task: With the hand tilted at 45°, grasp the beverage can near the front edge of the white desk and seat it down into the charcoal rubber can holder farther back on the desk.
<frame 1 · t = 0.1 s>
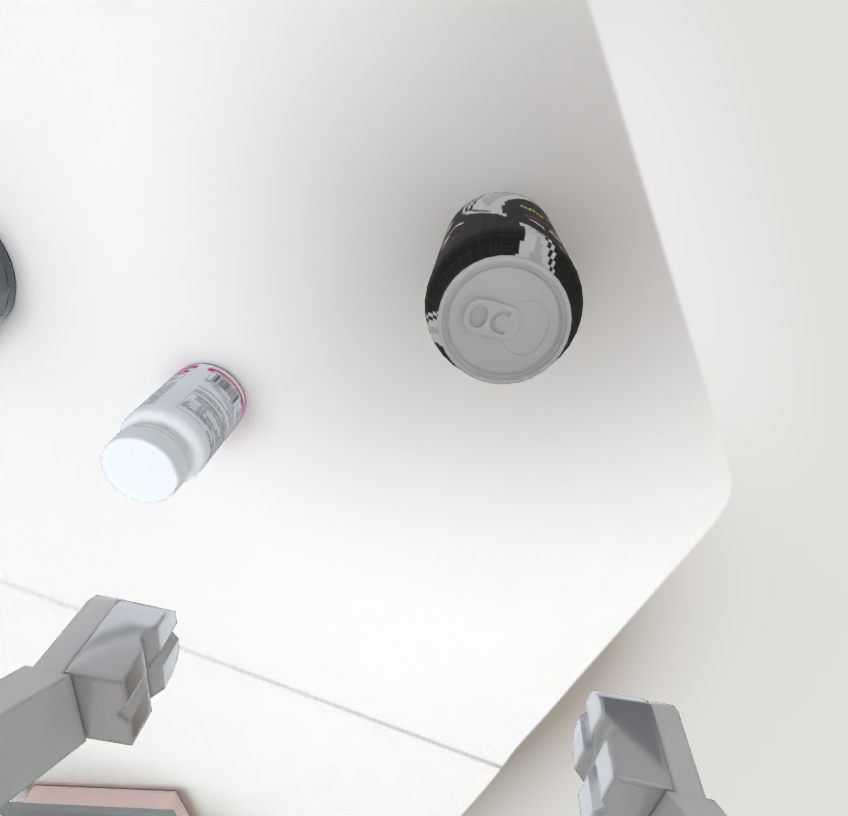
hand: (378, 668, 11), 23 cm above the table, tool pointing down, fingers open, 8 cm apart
pill bottle: (212, 395, 36), on the table
beverage can: (498, 247, 30), on the table
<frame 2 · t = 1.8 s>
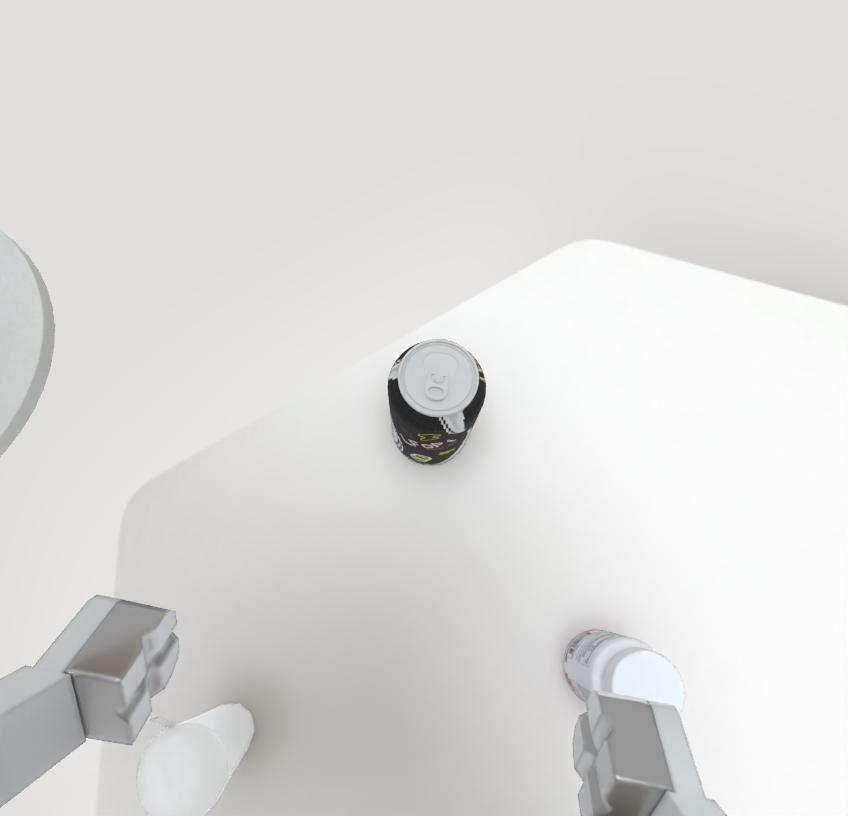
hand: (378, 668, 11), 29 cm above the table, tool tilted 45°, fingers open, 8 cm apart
pill bottle: (596, 665, 38), on the table
beverage can: (429, 430, 43), on the table
milkshake: (229, 722, 37), on the table
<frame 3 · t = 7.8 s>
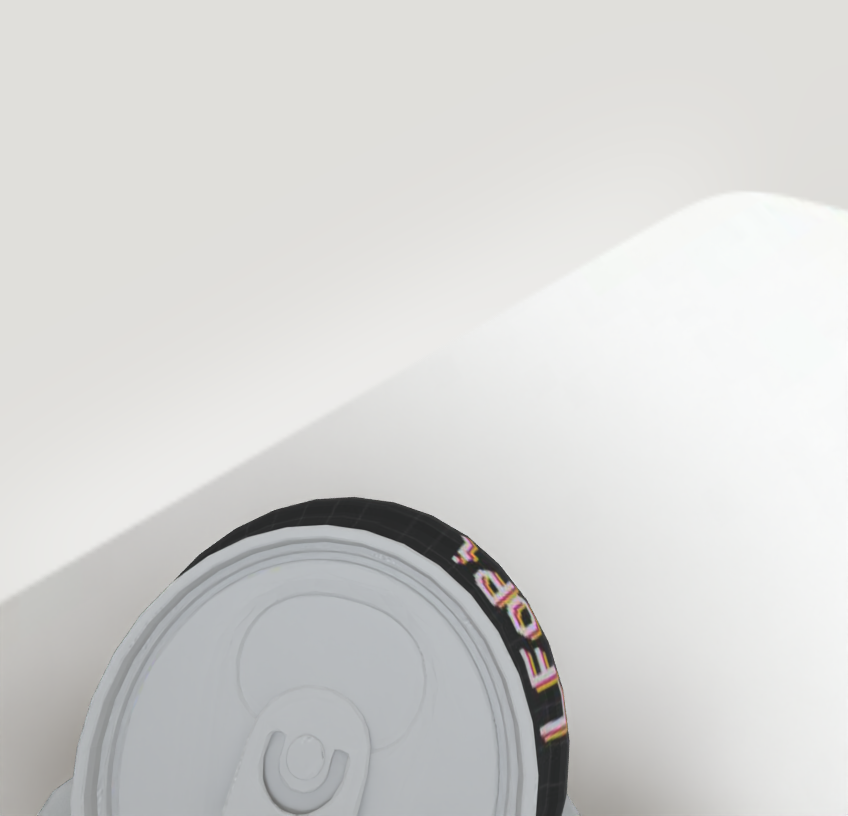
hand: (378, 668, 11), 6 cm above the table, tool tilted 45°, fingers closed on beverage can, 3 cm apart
beverage can: (404, 654, 17), on the table, touching gripper
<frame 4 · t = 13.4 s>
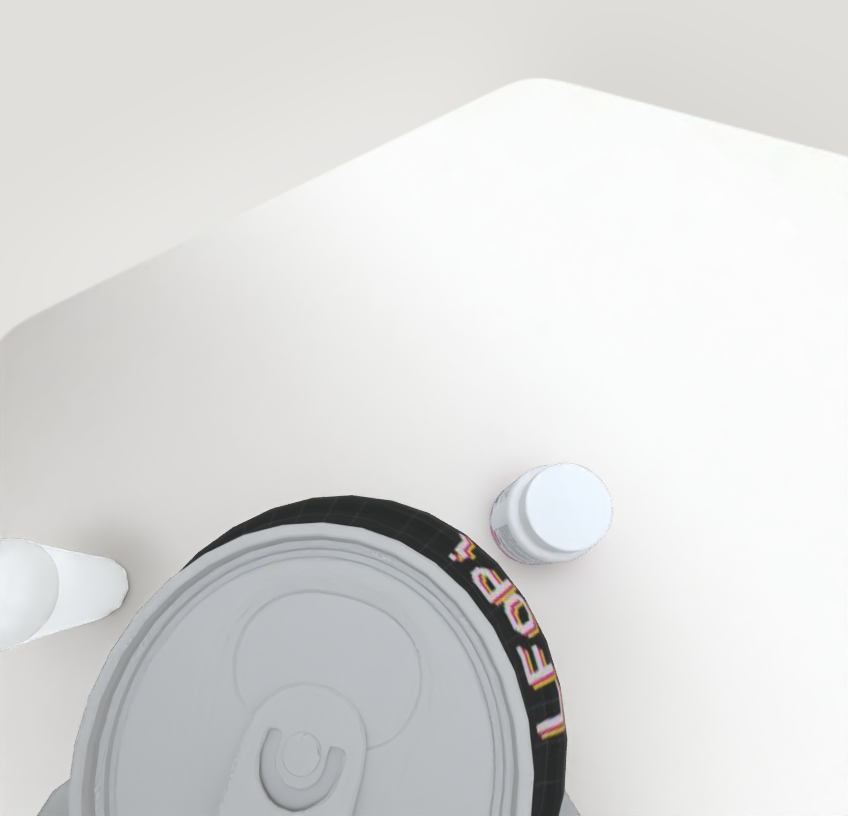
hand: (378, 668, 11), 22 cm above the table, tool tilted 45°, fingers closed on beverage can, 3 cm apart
pill bottle: (528, 523, 34), on the table
beverage can: (406, 653, 17), point 15 cm above the table, touching gripper
milkshake: (100, 580, 32), on the table
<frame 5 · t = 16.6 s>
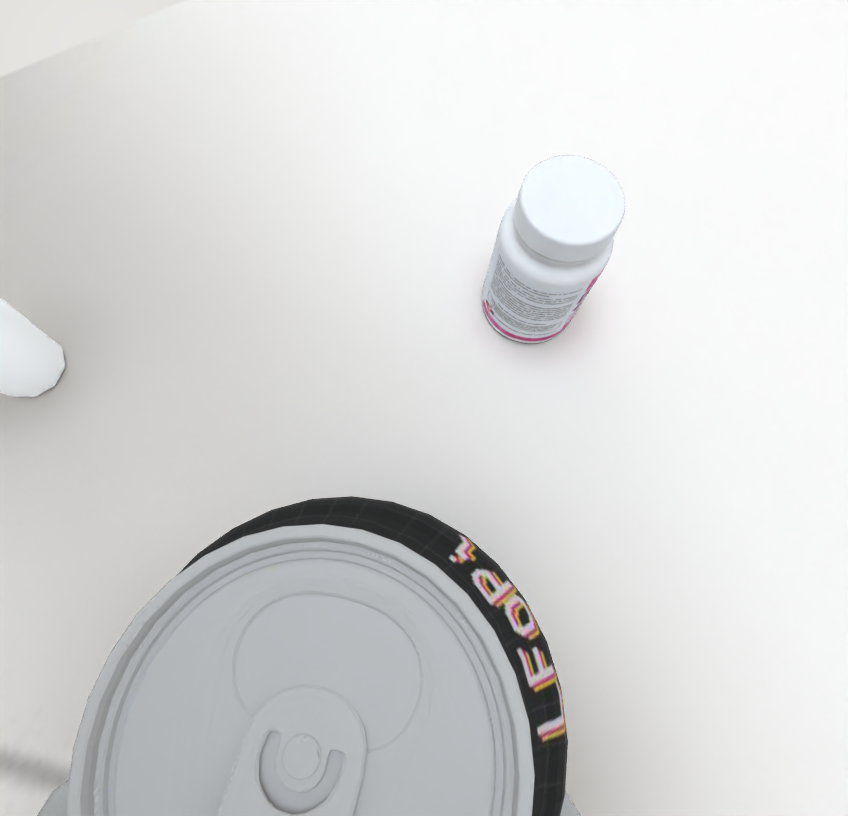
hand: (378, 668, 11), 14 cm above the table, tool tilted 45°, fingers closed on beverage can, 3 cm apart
pill bottle: (526, 304, 29), on the table
beverage can: (406, 654, 17), point 8 cm above the table, touching gripper
milkshake: (33, 360, 28), on the table
when the fingers open (7 cm above the table, at t = 19.1 s): beverage can stays where it is, resting on can holder.
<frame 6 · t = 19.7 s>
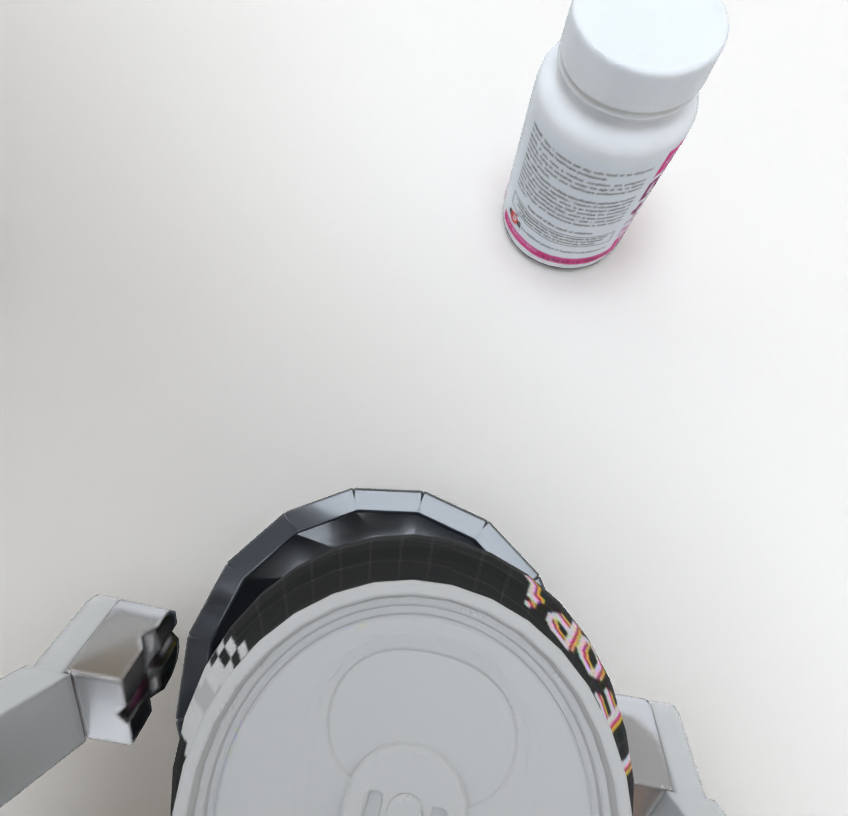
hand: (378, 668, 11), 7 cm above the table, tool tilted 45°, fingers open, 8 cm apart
pill bottle: (560, 221, 22), on the table
can holder: (385, 654, 17), on the table
beverage can: (406, 653, 17), resting on can holder
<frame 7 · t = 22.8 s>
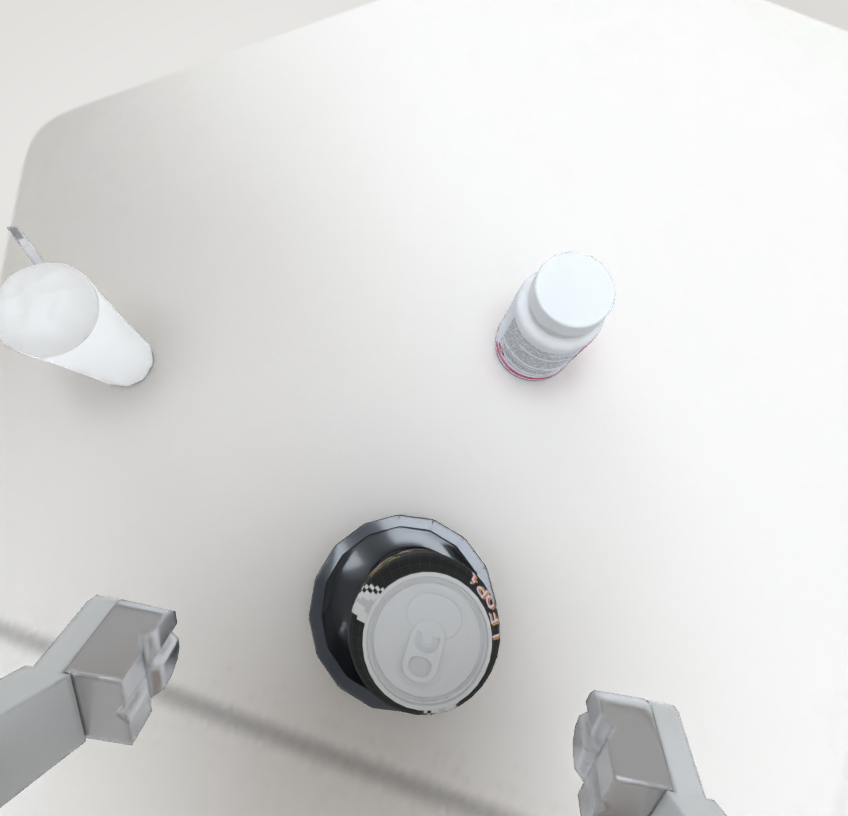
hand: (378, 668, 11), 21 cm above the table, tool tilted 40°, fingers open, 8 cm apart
pill bottle: (531, 346, 36), on the table
can holder: (401, 597, 32), on the table
beverage can: (413, 598, 31), resting on can holder
milkshake: (126, 355, 34), on the table
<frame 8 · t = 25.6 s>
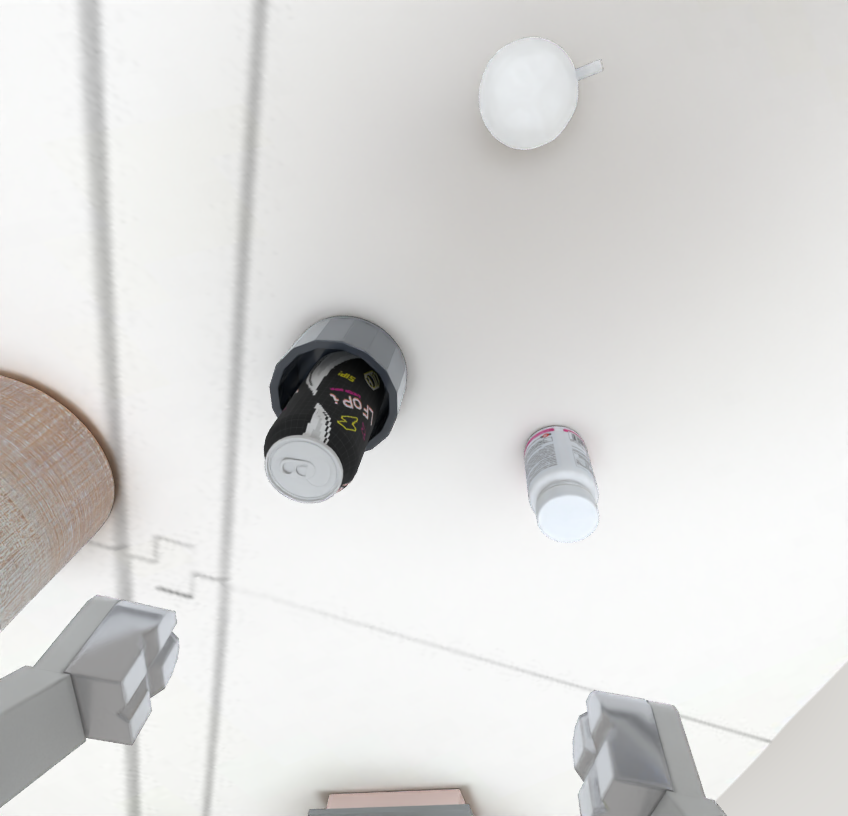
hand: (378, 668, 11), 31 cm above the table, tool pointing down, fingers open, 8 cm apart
pill bottle: (554, 449, 44), on the table
can holder: (349, 371, 43), on the table
beverage can: (349, 381, 43), resting on can holder
planter: (26, 456, 50), on the table
milkshake: (526, 95, 33), on the table
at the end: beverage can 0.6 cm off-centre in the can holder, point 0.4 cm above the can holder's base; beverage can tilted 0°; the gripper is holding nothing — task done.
